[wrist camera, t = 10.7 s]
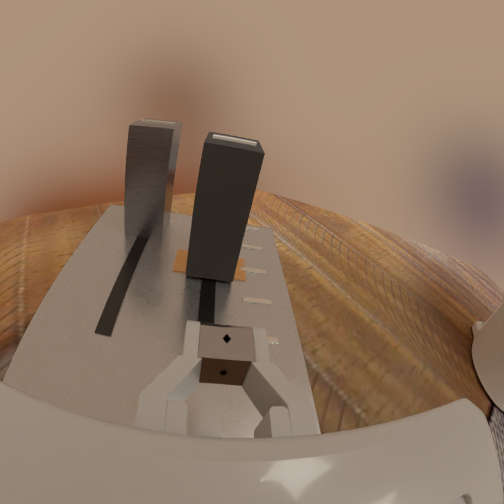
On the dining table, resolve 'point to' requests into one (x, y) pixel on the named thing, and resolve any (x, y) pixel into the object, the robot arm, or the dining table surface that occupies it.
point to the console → (152, 306)
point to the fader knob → (222, 205)
